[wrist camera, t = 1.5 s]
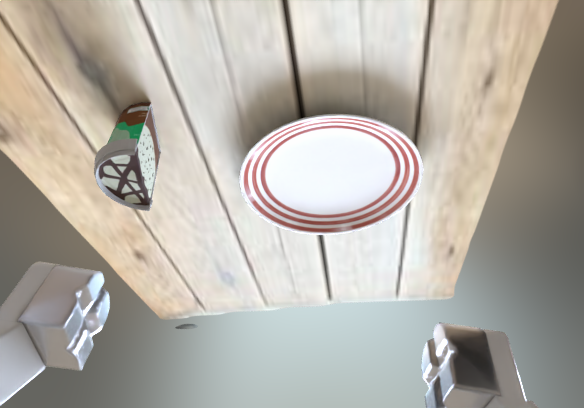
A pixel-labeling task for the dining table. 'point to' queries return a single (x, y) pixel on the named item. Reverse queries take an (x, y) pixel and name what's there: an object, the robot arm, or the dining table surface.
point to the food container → (130, 159)
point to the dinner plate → (331, 174)
